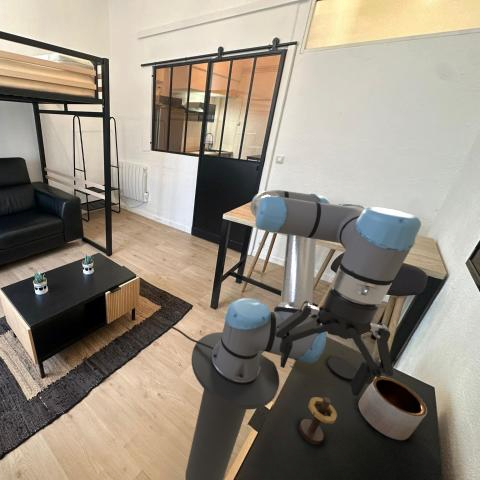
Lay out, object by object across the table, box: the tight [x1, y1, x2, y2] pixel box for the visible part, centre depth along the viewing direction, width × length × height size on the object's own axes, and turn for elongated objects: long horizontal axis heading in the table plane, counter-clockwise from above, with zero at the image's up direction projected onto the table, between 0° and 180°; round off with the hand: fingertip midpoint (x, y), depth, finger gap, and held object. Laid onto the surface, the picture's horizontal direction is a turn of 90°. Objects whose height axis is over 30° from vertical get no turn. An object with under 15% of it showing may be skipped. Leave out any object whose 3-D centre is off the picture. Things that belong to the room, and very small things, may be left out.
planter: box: [358, 375, 428, 441], centre depth 65 cm, size 11×11×10 cm
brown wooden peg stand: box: [298, 396, 332, 446], centre depth 60 cm, size 5×5×12 cm
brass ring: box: [307, 396, 338, 425], centre depth 59 cm, size 5×5×1 cm
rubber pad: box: [327, 356, 357, 381], centre depth 81 cm, size 8×8×1 cm
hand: (316, 376), depth 54 cm, fingers open, 13 cm apart
